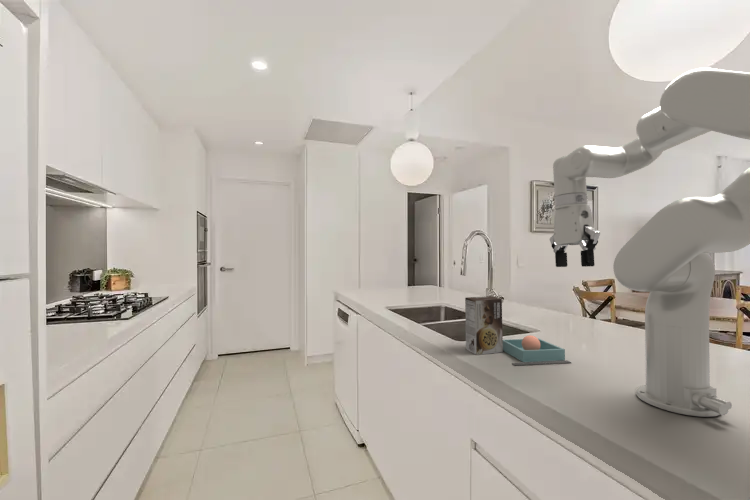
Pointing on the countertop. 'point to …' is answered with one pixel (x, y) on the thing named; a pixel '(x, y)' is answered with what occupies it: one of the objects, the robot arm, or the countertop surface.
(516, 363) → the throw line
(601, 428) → the countertop surface
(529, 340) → the ball
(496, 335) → the coffee box
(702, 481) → the countertop surface
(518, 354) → the tray
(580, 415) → the countertop surface
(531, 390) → the countertop surface
